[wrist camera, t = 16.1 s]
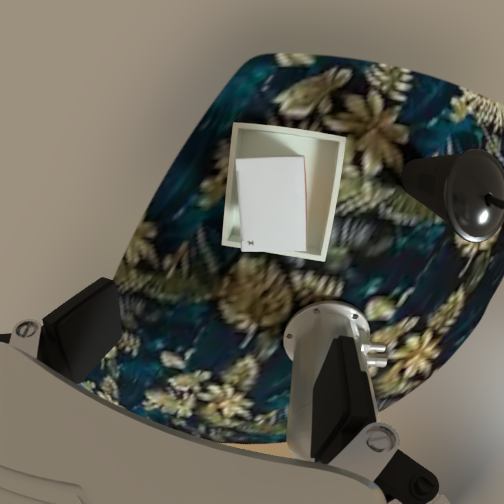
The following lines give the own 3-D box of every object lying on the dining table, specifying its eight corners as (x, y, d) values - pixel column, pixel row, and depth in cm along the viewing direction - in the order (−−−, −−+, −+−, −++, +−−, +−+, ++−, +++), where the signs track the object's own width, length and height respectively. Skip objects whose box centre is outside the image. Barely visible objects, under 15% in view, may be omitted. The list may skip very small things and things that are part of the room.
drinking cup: (412, 221, 30) (510, 296, 11) (379, 172, 29) (478, 201, 10) (451, 185, 27) (563, 227, 8) (420, 136, 26) (536, 132, 7)
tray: (341, 139, 28) (346, 137, 25) (322, 252, 33) (324, 261, 30) (239, 125, 29) (233, 122, 27) (227, 237, 34) (221, 245, 32)
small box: (305, 223, 32) (307, 254, 22) (258, 224, 33) (240, 254, 23) (303, 155, 29) (306, 154, 19) (254, 157, 30) (233, 157, 20)
